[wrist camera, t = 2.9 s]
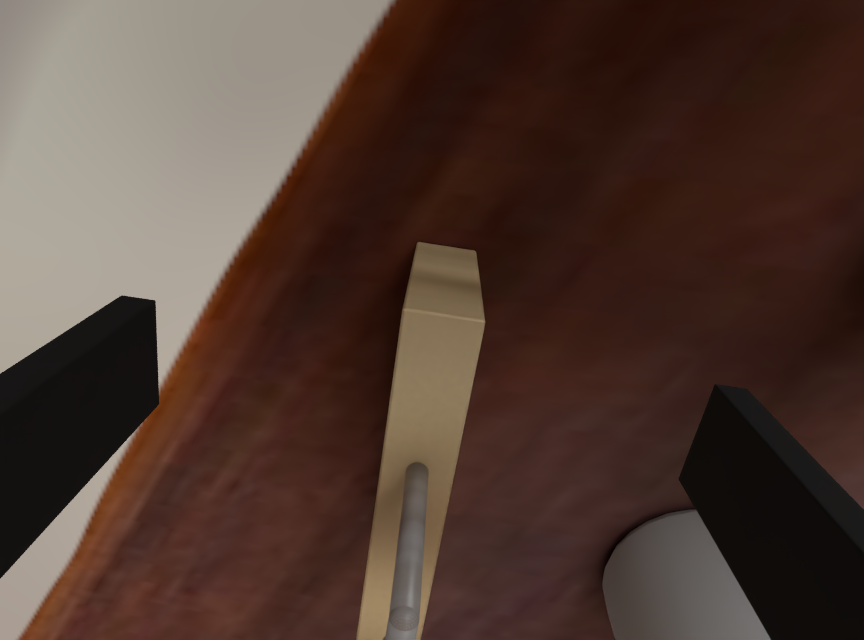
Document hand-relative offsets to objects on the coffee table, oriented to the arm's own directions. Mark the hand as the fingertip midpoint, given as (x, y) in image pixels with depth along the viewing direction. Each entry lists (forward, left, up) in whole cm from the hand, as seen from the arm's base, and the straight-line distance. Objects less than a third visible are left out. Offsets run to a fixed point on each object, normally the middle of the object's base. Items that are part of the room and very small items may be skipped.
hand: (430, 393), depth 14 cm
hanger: (+4, 0, -7) cm, 8 cm away
